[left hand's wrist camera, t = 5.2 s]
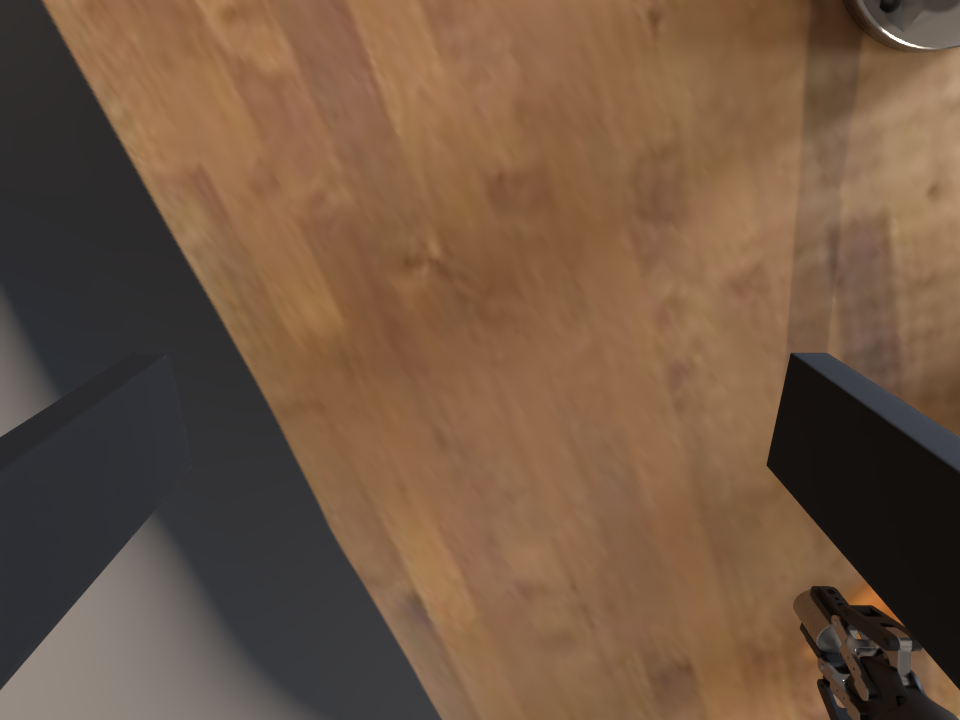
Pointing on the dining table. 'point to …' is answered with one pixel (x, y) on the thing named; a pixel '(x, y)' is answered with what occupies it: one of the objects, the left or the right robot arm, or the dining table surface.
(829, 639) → the tin
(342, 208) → the dining table surface
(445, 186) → the dining table surface
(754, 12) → the dining table surface
